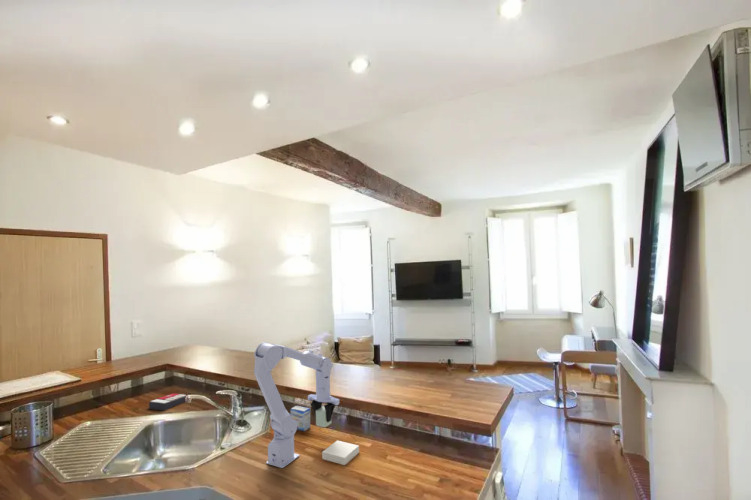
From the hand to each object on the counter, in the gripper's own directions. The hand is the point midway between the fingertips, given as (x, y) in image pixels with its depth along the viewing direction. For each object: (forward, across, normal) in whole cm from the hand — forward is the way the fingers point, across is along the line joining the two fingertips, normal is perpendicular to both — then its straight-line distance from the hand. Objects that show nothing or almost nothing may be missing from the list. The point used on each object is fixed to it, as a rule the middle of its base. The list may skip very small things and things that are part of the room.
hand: (323, 420), depth 149 cm
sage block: (+2, 0, 0) cm, 2 cm away
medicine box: (+9, +18, -7) cm, 21 cm away
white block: (+9, -12, +6) cm, 16 cm away
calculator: (+10, +104, -1) cm, 104 cm away
